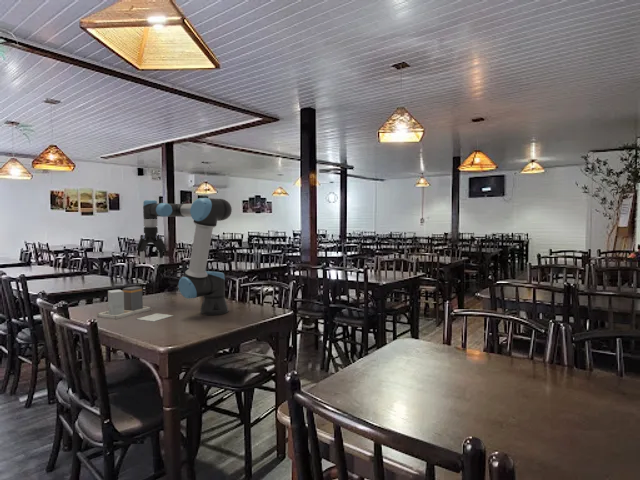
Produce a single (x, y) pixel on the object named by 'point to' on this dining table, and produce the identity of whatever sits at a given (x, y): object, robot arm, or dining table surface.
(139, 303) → the twin block
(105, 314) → the beige rectangular board
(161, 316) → the mat
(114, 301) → the small box
